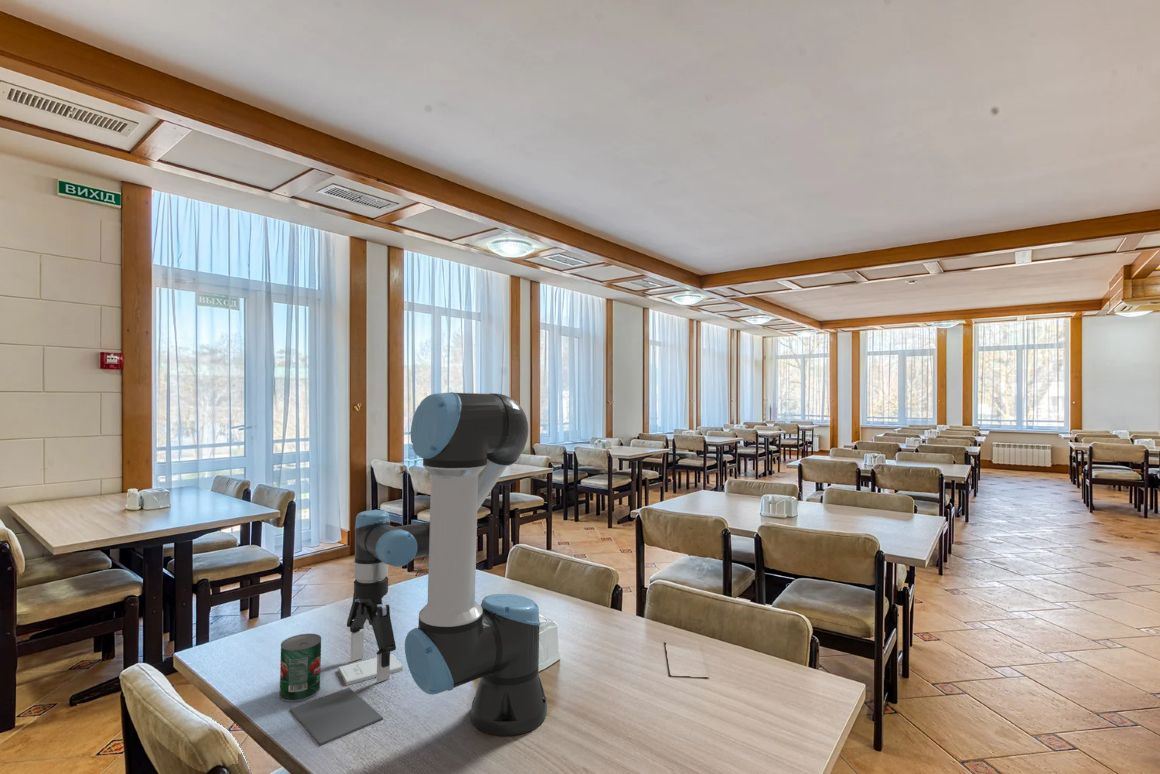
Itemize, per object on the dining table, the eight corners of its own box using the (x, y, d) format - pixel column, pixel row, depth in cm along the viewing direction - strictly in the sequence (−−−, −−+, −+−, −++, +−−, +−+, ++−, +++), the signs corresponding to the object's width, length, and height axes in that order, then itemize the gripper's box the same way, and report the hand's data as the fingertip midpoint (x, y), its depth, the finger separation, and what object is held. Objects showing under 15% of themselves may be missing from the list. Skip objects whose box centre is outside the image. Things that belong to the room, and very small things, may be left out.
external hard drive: (402, 673, 131) (346, 688, 124) (392, 659, 138) (338, 672, 131) (402, 666, 131) (346, 680, 124) (392, 652, 138) (338, 665, 131)
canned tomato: (274, 692, 121) (275, 640, 121) (312, 679, 126) (313, 630, 127) (286, 706, 115) (287, 652, 115) (326, 692, 121) (327, 641, 121)
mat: (382, 719, 111) (382, 717, 111) (320, 745, 102) (320, 743, 102) (348, 689, 122) (348, 687, 122) (290, 710, 114) (290, 708, 114)
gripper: (412, 587, 125) (410, 683, 125) (363, 562, 143) (361, 646, 142) (380, 595, 120) (378, 695, 119) (333, 569, 137) (331, 656, 137)
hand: (369, 669), depth 131 cm, fingers open, 13 cm apart
